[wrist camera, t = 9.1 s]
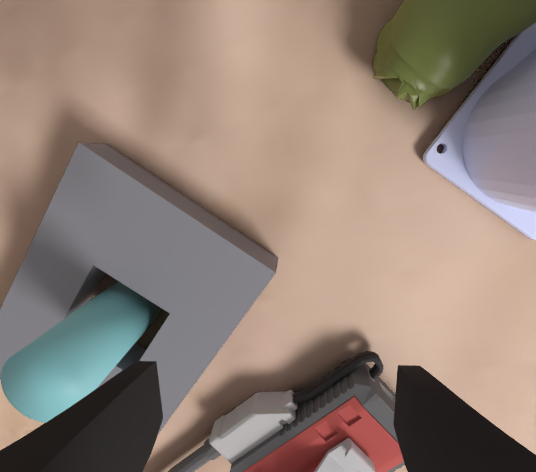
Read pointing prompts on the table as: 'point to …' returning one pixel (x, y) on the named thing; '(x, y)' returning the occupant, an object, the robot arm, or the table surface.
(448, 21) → the pear
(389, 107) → the table surface
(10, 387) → the peg
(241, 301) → the socket board
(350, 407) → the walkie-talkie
